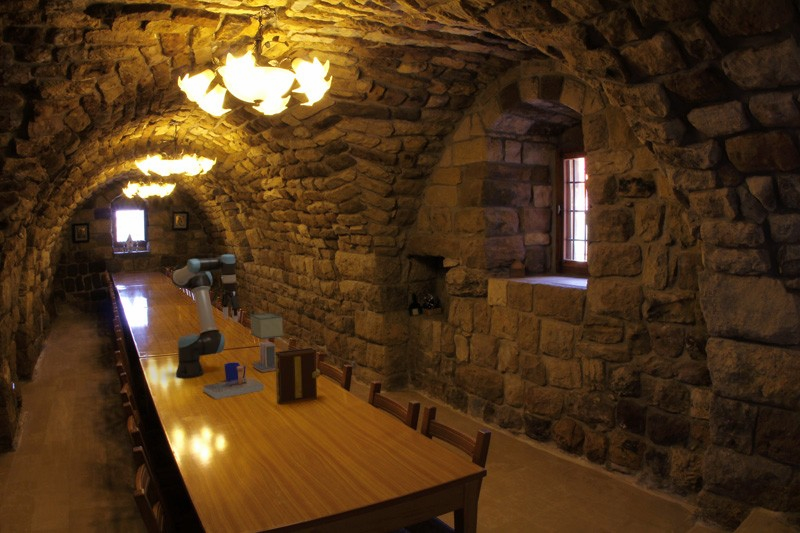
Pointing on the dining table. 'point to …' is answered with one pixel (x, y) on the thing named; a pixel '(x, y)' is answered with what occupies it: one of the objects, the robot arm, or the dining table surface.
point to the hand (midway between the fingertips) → (230, 320)
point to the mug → (232, 371)
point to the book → (296, 375)
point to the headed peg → (240, 374)
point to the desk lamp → (264, 329)
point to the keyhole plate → (233, 388)
